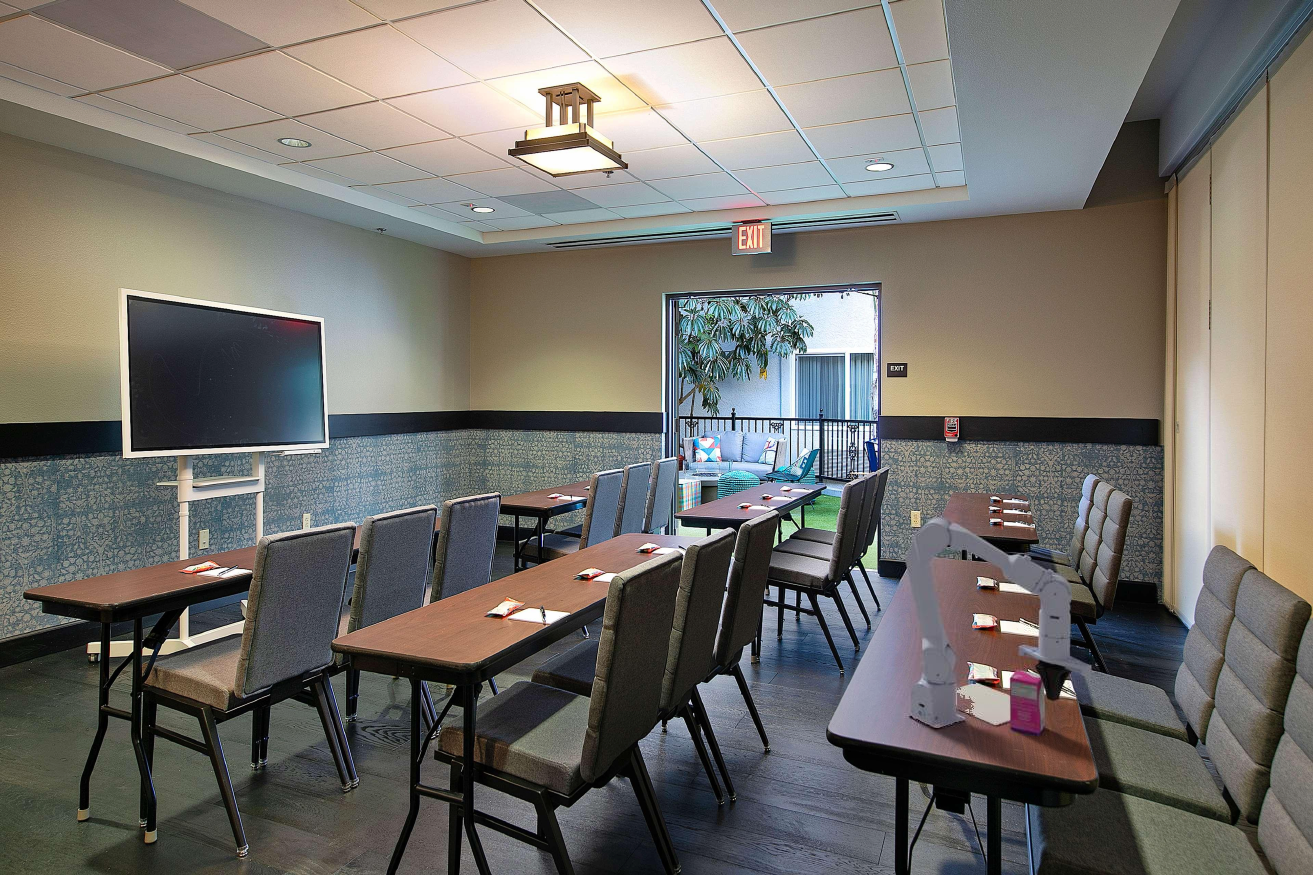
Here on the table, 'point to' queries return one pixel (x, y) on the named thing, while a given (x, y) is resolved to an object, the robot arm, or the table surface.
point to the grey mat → (987, 703)
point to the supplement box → (1027, 703)
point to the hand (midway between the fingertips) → (1052, 698)
